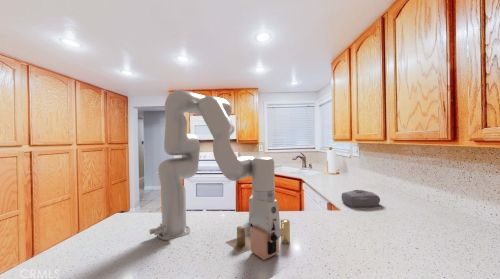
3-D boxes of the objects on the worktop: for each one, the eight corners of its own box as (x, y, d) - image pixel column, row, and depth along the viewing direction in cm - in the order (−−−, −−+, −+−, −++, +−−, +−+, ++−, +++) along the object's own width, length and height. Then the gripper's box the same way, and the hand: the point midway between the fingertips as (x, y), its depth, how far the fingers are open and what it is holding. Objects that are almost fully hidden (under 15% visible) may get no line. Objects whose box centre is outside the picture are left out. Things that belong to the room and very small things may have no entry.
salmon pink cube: (263, 259, 65) (263, 234, 65) (250, 251, 71) (250, 227, 71) (279, 252, 69) (278, 228, 69) (265, 244, 75) (265, 222, 75)
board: (241, 256, 70) (240, 235, 70) (225, 245, 78) (225, 225, 78) (279, 240, 81) (279, 221, 81) (262, 231, 89) (262, 214, 89)
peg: (285, 248, 75) (285, 223, 75) (279, 245, 78) (278, 220, 78) (291, 245, 77) (291, 221, 77) (285, 242, 80) (285, 218, 80)
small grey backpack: (352, 209, 115) (387, 208, 116) (352, 194, 115) (386, 192, 116) (338, 201, 130) (369, 200, 131) (338, 188, 130) (369, 186, 131)
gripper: (291, 198, 65) (292, 255, 65) (256, 188, 79) (257, 236, 79) (273, 202, 61) (274, 264, 61) (239, 191, 75) (240, 242, 75)
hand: (264, 248), depth 70 cm, fingers closed on salmon pink cube, 6 cm apart
